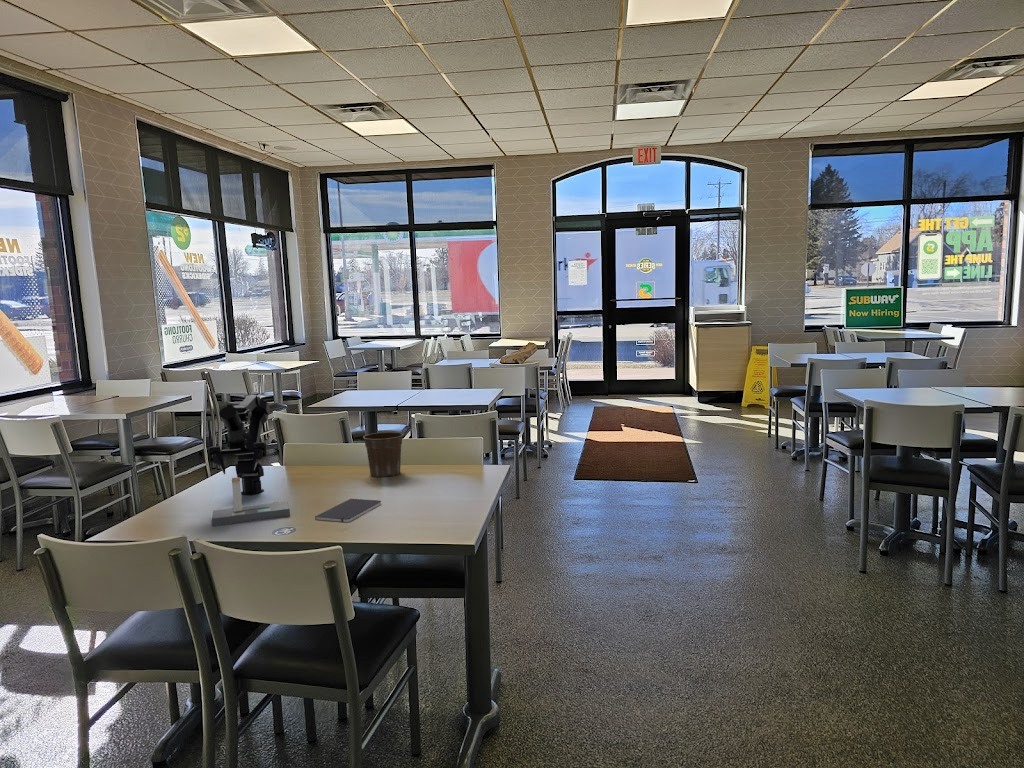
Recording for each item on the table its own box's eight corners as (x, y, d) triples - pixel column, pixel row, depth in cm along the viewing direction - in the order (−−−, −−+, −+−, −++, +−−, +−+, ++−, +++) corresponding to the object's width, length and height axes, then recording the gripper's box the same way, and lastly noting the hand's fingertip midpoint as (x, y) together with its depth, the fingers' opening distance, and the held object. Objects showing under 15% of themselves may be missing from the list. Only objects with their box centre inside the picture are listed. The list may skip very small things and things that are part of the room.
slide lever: (234, 511, 231) (231, 480, 229) (234, 509, 233) (232, 478, 232) (242, 510, 231) (239, 479, 230) (242, 508, 234) (239, 477, 233)
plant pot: (373, 469, 296) (370, 431, 295) (410, 468, 294) (408, 431, 292) (359, 478, 280) (357, 439, 279) (398, 478, 278) (396, 438, 276)
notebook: (351, 502, 248) (315, 521, 228) (350, 498, 248) (314, 516, 228) (382, 504, 244) (348, 523, 224) (382, 500, 244) (348, 519, 224)
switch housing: (212, 525, 225) (211, 518, 225) (213, 517, 235) (213, 510, 234) (290, 515, 234) (289, 508, 233) (288, 507, 243) (288, 500, 243)
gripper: (206, 424, 238) (207, 461, 229) (264, 419, 245) (267, 455, 236) (208, 443, 246) (210, 480, 237) (264, 438, 253) (268, 473, 244)
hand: (239, 471), depth 238 cm, fingers open, 9 cm apart
